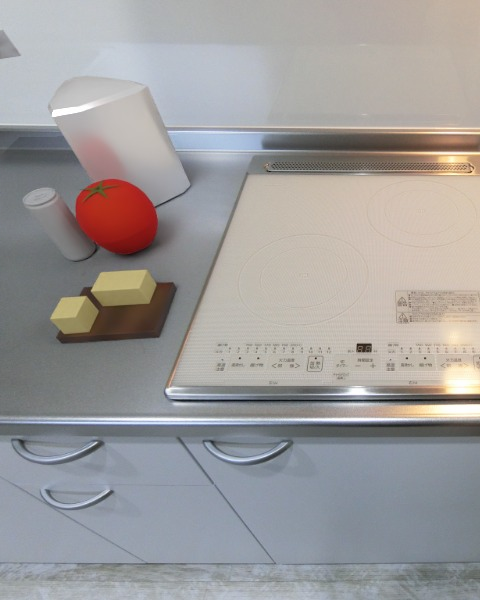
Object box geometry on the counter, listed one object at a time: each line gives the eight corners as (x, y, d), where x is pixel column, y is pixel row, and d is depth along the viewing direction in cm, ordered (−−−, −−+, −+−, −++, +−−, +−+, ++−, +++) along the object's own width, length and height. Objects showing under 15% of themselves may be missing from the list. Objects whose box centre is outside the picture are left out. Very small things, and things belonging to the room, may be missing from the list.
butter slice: (64, 334, 63) (49, 319, 60) (75, 312, 66) (61, 297, 63) (89, 332, 63) (75, 317, 61) (99, 311, 66) (86, 295, 63)
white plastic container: (193, 184, 90) (146, 73, 74) (151, 227, 81) (87, 111, 65) (130, 174, 93) (71, 65, 76) (83, 215, 84) (4, 100, 67)
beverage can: (62, 253, 77) (17, 195, 68) (91, 240, 79) (50, 183, 70) (72, 266, 74) (26, 209, 65) (101, 253, 77) (60, 195, 68)
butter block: (102, 306, 66) (90, 291, 64) (112, 287, 69) (100, 271, 66) (149, 303, 67) (139, 288, 64) (157, 284, 69) (147, 269, 67)
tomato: (146, 219, 83) (112, 158, 73) (181, 240, 79) (150, 179, 69) (89, 252, 77) (44, 190, 67) (124, 277, 73) (81, 215, 63)
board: (61, 343, 64) (55, 337, 63) (88, 293, 70) (83, 286, 69) (159, 337, 64) (154, 331, 63) (177, 288, 71) (173, 281, 70)
